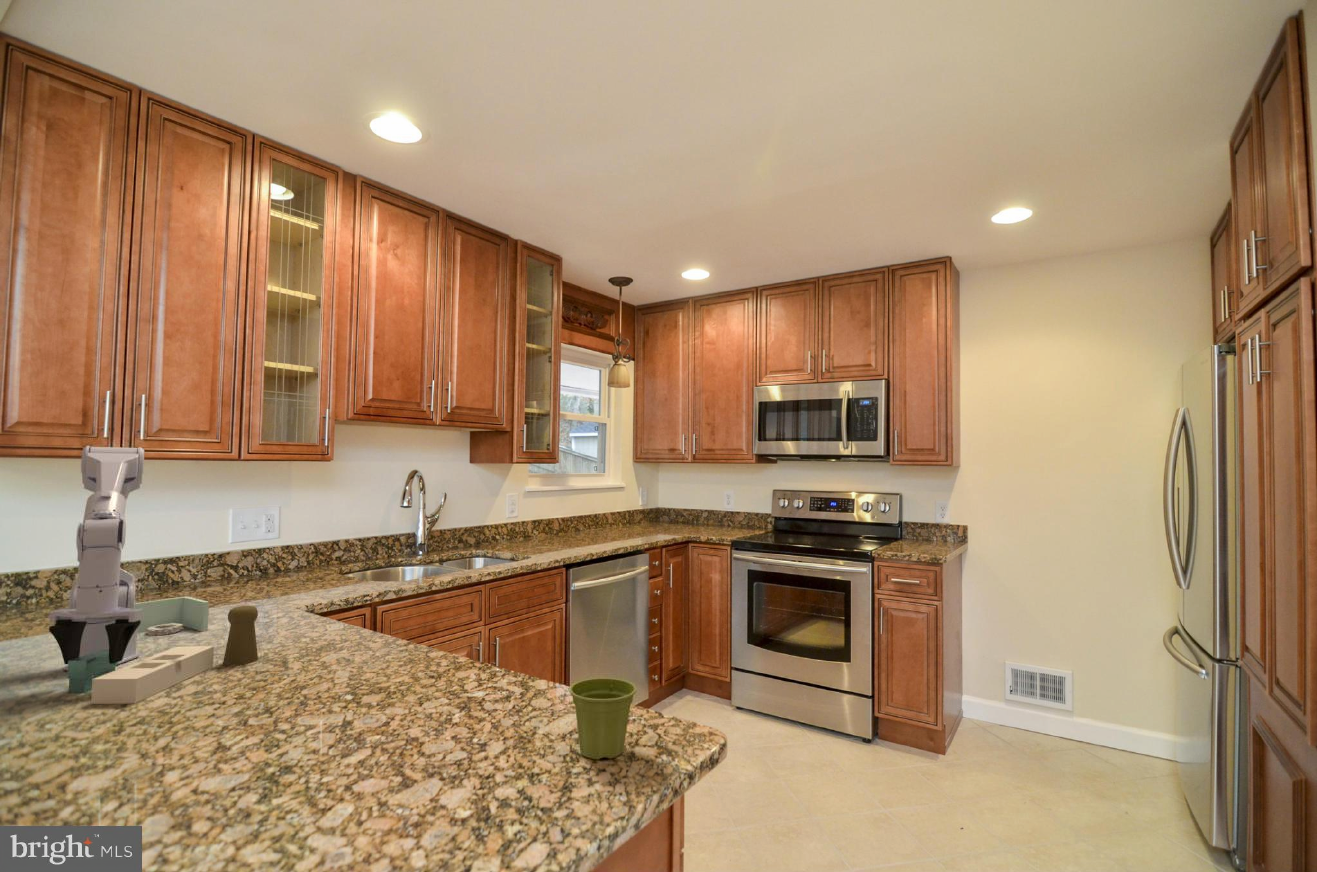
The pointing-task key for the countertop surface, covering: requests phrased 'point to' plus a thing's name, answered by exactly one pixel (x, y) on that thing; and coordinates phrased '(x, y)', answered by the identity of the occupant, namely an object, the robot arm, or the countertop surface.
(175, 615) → the right angle wall
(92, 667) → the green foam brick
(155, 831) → the countertop surface
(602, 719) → the plant pot
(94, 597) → the robot arm
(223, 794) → the countertop surface
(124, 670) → the rail
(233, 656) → the cork
